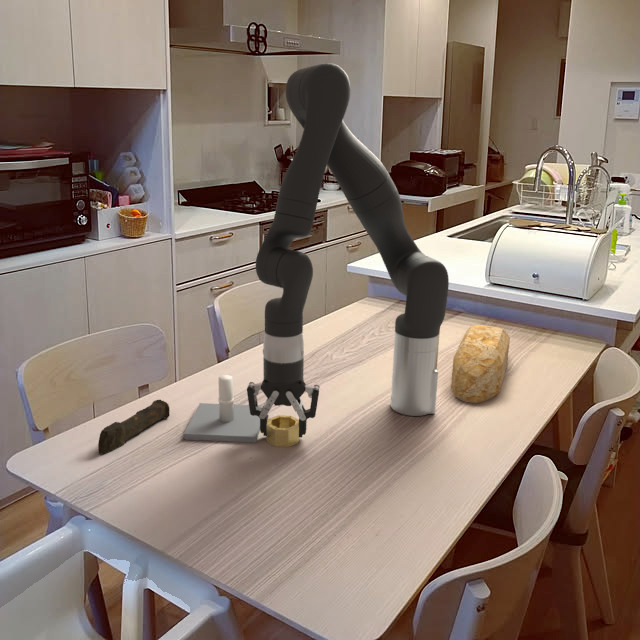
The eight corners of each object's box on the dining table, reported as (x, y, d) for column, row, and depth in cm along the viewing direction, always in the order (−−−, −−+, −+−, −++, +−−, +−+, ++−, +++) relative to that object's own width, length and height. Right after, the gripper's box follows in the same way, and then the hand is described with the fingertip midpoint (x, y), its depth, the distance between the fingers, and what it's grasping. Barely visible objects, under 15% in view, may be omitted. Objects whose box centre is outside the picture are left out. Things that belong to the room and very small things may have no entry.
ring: (300, 432, 140) (300, 416, 139) (297, 447, 134) (298, 430, 133) (269, 430, 141) (269, 414, 139) (265, 445, 135) (265, 429, 134)
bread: (495, 406, 154) (500, 364, 151) (445, 399, 157) (448, 357, 154) (510, 352, 186) (514, 316, 183) (468, 347, 190) (471, 311, 187)
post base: (265, 411, 149) (265, 366, 146) (256, 442, 136) (255, 393, 133) (200, 408, 150) (198, 363, 147) (184, 439, 136) (181, 390, 133)
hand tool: (155, 414, 147) (154, 394, 146) (171, 418, 145) (169, 398, 144) (88, 453, 131) (86, 431, 130) (104, 458, 129) (102, 435, 128)
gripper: (323, 348, 135) (321, 427, 140) (248, 345, 136) (249, 424, 141) (321, 363, 128) (319, 446, 133) (242, 359, 129) (243, 442, 134)
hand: (283, 434), depth 137 cm, fingers closed on ring, 6 cm apart
